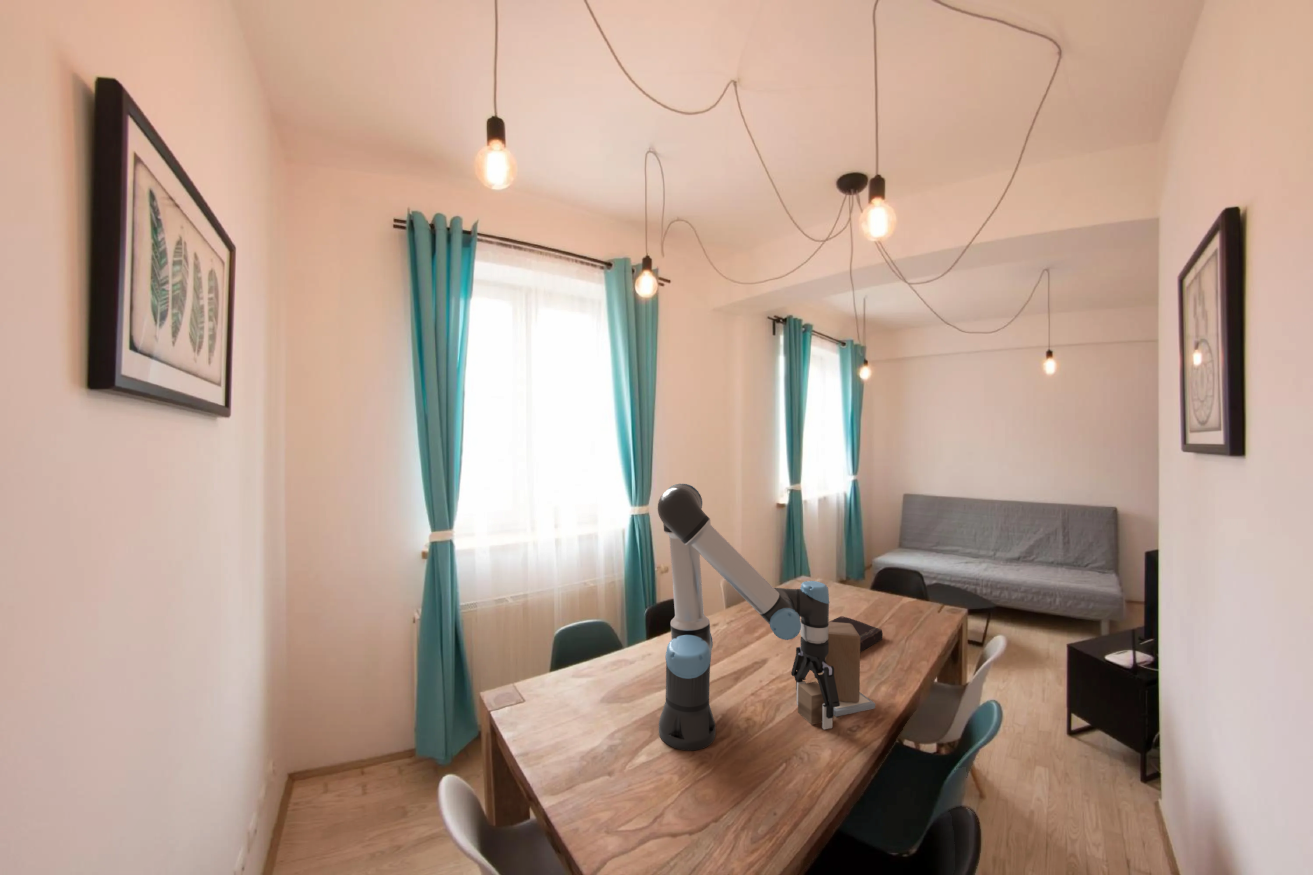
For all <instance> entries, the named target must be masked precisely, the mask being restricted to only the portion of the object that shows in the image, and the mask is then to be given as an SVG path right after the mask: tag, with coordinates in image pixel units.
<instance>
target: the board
mask: <svg viewBox="0 0 1313 875" xmlns="http://www.w3.org/2000/svg"><path fill="white" fill-rule="evenodd" d="M839 703H840V706H838V707H834V712H833V713H834V715H833V717H837V718H838V717H841V716H845V715H846V716H847V715H851V714H856V713H859V712H864V711H865V712H866V711H868V710H874V709H876V702H874V701H873V700H871V699H870V698H869V697H867V696H866V695H864V694H863V693H862V692H860V696H859V702H857V703H854V702H844V701H839Z"/></svg>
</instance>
